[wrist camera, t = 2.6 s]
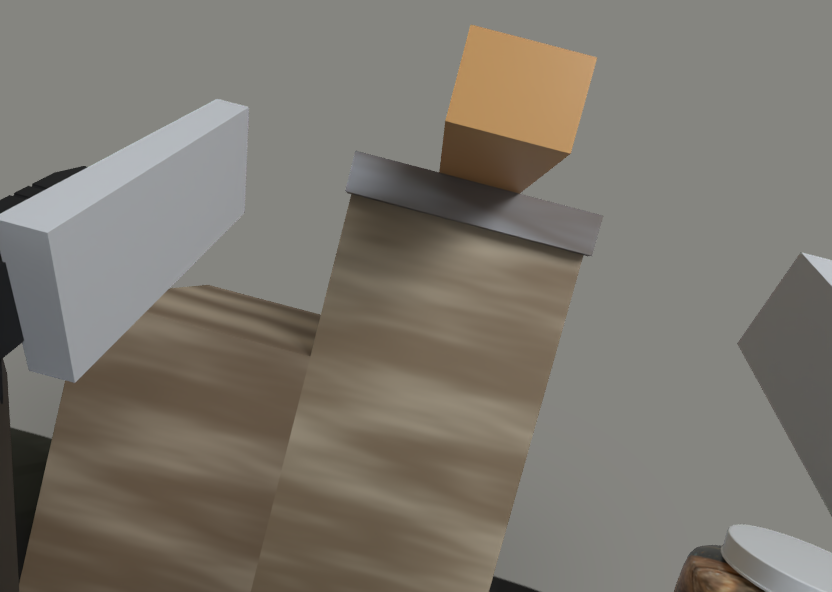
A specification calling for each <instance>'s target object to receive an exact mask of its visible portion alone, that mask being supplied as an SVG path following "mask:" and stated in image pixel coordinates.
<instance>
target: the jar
mask: <svg viewBox="0 0 832 592" xmlns="http://www.w3.org/2000/svg"><path fill="white" fill-rule="evenodd" d="M674 592H832V553H831V552H829V551H827V550H824V549H822V548H819V547H817V546H815V545H812V544H810V543H808V542H805V541H803V540H800V539H797V538H795V537H792V536H789V535H786V534H783V533H780V532H777V531H773V530H770V529H766V528H762V527H758V526H753V525H745V524H736V525H732V526H730V527H729V528H728V531H727V534H726V537H725V541H724V544H723V545H722V546H717V545H708V546H700V547H697V548H695V549H694V550H693V551H692V552H691V553H690V554H689V556H688V557H687V560H686V561H685V563H684V565H683V568H682V570H681V573H680V576H679V578H678V581H677V584H676V587H675V590H674Z"/></svg>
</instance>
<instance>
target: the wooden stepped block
mask: <svg viewBox="0 0 832 592" xmlns="http://www.w3.org/2000/svg"><path fill="white" fill-rule="evenodd" d="M345 191H346V192H347V193H349V194H351V199H350V202H349V206H348V210H347V214H346V218H345V222H344V226H343V230H342V234H341V238H340V242H339V245H338V249H337V253H336V257H335V261H334V265H333V269H332V273H331V277H330V281H329V285H328V289H327V293H326V297H325V301H324V305H323V309H322V313H321V315H320V314H316V313H312V312H308V311H304V310H301V309H297V308H293V307H289V306H285V305H282V304H278V303H274V302H271V301H266V300H263V299H259V298H255V297H251V296H247V295H244V294H240V293H237V292H233V291H229V290H225V289H221V288H218V287H214V286H210V285H202V286H192V287H181V288H170V289H168V290H167V291H166V292H165V293H164V294H163V295H162V296H161V297H160V298H159V299H158V300H157V301H156V302H155V303H154V304H153V305H152V306H151V307H150V308H149V309H148V310H147V311H146V312H145V313H144V314H143V315H142V316H141V317H140V318H139V319H138V320H137V321H136V322H135V323H134V324H133V325H132V326H131V327H130V328H129V329H128V330H127V331H126V332H125V333H124V334H123V335H122V336H121V337H120V338H119V339H118V340H117V341H116V342H115V343H114V344H113V345H112V346H111V347H110V348H109V349H108V350H107V351H106V352H105V353H104V354H103V355H102V356H101V357H100V358H99V359H98V360H97V361H96V362H95V363H94V364H93V365H92V366H91V367H90V368H89V369H88V370H87V371H86V372H85V373H84V374H83V375H82V376H81V377H80V378H79V379H78V380H77V381H76V382H75V383H73V382H70V381H66V380H65V384H64V389H63V393H62V397H61V402H60V406H59V411H58V415H57V419H56V424H55V428H54V433H53V437H52V441H51V446H50V450H49V455H48V459H47V463H46V468H45V472H44V477H43V481H42V486H41V490H40V494H39V499H38V503H37V508H36V512H35V517H34V521H33V525H32V530H31V534H30V539H29V543H28V547H27V552H26V556H25V561H24V565H23V570H22V574H21V578H20V583H19V592H489V589H490V585H491V582H492V578H493V575H494V571H495V568H496V564H497V560H498V557H499V553H500V550H501V546H502V543H503V539H504V535H505V532H506V528H507V525H508V521H509V518H510V514H511V511H512V507H513V503H514V500H515V496H516V493H517V489H518V486H519V482H520V478H521V475H522V472H523V468H524V464H525V461H526V457H527V454H528V450H529V447H530V443H531V439H532V435H533V432H534V429H535V425H536V422H537V418H538V415H539V411H540V408H541V404H542V400H543V397H544V393H545V390H546V386H547V382H548V379H549V375H550V372H551V368H552V365H553V361H554V358H555V354H556V351H557V347H558V344H559V339H560V337H561V333H562V329H563V326H564V322H565V319H566V315H567V312H568V308H569V305H570V301H571V297H572V294H573V290H574V287H575V283H576V280H577V276H578V273H579V269H580V265H581V262H582V258H583V255H586V256H592V254H593V250H594V247H595V243H596V240H597V236H598V233H599V229H600V226H601V222H602V218H603V216H602V215H599V214H595V213H591V212H587V211H584V210H580V209H576V208H572V207H568V206H565V205H561V204H557V203H553V202H549V201H545V200H542V199H538V198H534V197H530V196H526V195H522V194H519V193H515V192H511V191H507V190H504V189H500V188H496V187H492V186H488V185H484V184H481V183H477V182H473V181H469V180H465V179H462V178H458V177H454V176H450V175H446V174H443V173H439V172H435V171H431V170H427V169H424V168H419V167H416V166H412V165H408V164H404V163H401V162H397V161H393V160H389V159H385V158H382V157H378V156H374V155H370V154H366V153H363V152H358V151H355V155H354V159H353V163H352V166H351V170H350V174H349V178H348V182H347V186H346V190H345Z"/></svg>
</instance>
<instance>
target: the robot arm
mask: <svg viewBox="0 0 832 592" xmlns="http://www.w3.org/2000/svg"><path fill="white" fill-rule="evenodd" d="M248 117H249V107H246V106H243V105H239V104H235V103H231V102H227V101H224V100H220V99H216V100H214V101H212V102H210V103H208V104H206V105H204V106H202V107H201V108H199V109H197V110H195V111H193V112H191V113H189V114H187V115H186V116H184V117H182V118H180V119H178V120H176V121H174V122H172V123H170V124H169V125H167V126H165V127H163V128H161V129H159V130H158V131H155V132H153V133H152V134H150V135H148V136H146V137H144V138H142V139H140V140H138V141H136V142H135V143H133V144H131V145H129V146H127V147H125V148H123V149H122V150H119V151H118V152H116V153H114V154H112V155H110V156H108V157H106V158H104V159H103V160H101V161H99V162H97V163H95V164H93V165H91V166H89V167H86V166H82V167H78V168H73V169H69V170H65V171H60V172H56V173H53V174H51V175H49V176H47V177H46V178H43V179H41V180H39V181H37V182H35V183H33V184H32V187H30V186H27V187H25V188H23V189H21V190H19V191H17V192H15V193H14V196H10V195H9V196H8V197H5V198H3V199H1V200H0V592H19V577H18V559H17V542H16V524H15V506H14V488H13V470H12V453H11V435H10V418H9V399H8V381H7V372H6V368H5V365H4V361H3V357H5V355H7V354H8V353H10V352H11V351H12V350H13V349H14V348H16V347H17V346H18V345H19V344H21V343H22V344H23V348H24V352H25V356H26V360H27V364H28V369H29V371H33V372H36V373H40V374H44V375H47V376H51V377H55V378H58V379H62V380H66V381H70V382H73V383H75V382H76V381H77V380H78V379H79V378H80V377H81V376H82V375H83V374H84V373H85V372H86V371H87V370H88V369H89V368H90V367H91V366H92V365H93V364H94V363H95V362H96V361H97V360H98V359H99V358H100V357H101V356H102V355H103V354H104V353H105V352H106V351H107V350H108V349H109V348H110V347H111V346H112V345H113V344H114V343H115V342H116V341H117V340H118V339H119V338H120V337H121V336H122V335H123V334H124V333H125V332H126V331H127V330H128V329H129V328H130V327H131V326H132V325H133V324H134V323H135V322H136V321H137V320H138V319H139V318H140V317H141V316H142V315H143V314H144V313H145V312H146V311H147V310H148V309H149V308H150V307H151V306H152V305H153V304H154V303H155V302H156V301H157V300H158V299H159V298H160V297H161V296H162V295H163V294H164V293H165V292H166V291H167V290H168V289H169V288H170V287H171V286H172V285H173V284H174V283H175V282H176V281H177V280H178V279H179V278H180V277H181V276H182V275H183V274H184V273H185V272H186V271H187V270H188V269H189V268H190V267H191V266H192V265H193V264H194V263H195V262H196V261H197V260H198V259H199V258H200V257H201V256H202V255H203V254H204V253H205V252H206V251H207V250H208V249H209V248H210V247H211V246H212V245H213V244H214V243H215V242H216V241H217V240H218V239H219V238H220V237H221V236H222V235H223V234H224V233H225V232H226V231H227V230H228V229H229V228H230V227H231V226H232V225H233V224H234V223H235V222H236V221H237V220H238V219H239V218H240V217H241V216H242V215H243V214H244V213H245V187H246V165H247V164H246V163H247V141H248V140H247V139H248ZM737 344H738V346H739V347H740V349H741V351H742V353H743V355H744V356H745V358H746V360H747V362H748V364H749V366H750V367H751V369H752V371H753V373H754V375H755V377H756V379H757V380H758V382H759V384H760V386H761V388H762V390H763V391H764V393H765V395H766V397H767V399H768V401H769V402H770V404H771V406H772V408H773V410H774V412H775V413H776V415H777V417H778V419H779V420H780V422H781V424H782V426H783V428H784V430H785V432H786V433H787V435H788V437H789V439H790V441H791V443H792V444H793V446H794V448H795V450H796V452H797V454H798V455H799V457H800V459H801V461H802V463H803V465H804V466H805V468H806V470H807V472H808V474H809V475H810V477H811V479H812V481H813V483H814V485H815V487H816V488H817V490H818V492H819V494H820V496H821V497H822V499H823V501H824V503H825V505H826V506H827V508H828V510H829V512H830V514H831V516H832V260H829V259H825V258H821V257H817V256H813V255H810V254H806V253H802V252H801V253H800V254H799V256H798V257H797V259H796V260H795V261H794V263H793V264H792V266H791V267H790V269H789V270H788V272H787V273H786V274H785V276H784V277H783V279H782V280H781V282H780V283H779V284H778V286H777V287H776V289H775V290H774V292H773V293H772V294H771V296H770V297H769V299H768V300H767V302H766V303H765V305H764V306H763V307H762V309H761V310H760V312H759V313H758V315H757V316H756V317H755V319H754V320H753V322H752V323H751V325H750V326H749V328H748V329H747V330H746V332H745V333H744V335H743V336H742V338H741V339H740V340H739V342H738V343H737Z"/></svg>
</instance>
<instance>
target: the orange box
mask: <svg viewBox="0 0 832 592" xmlns="http://www.w3.org/2000/svg"><path fill="white" fill-rule="evenodd" d="M596 60H597V57H593V56H590V55H586V54H582V53H578V52H574V51H570V50H567V49H563V48H559V47H555V46H551V45H547V44H543V43H539V42H536V41H532V40H528V39H524V38H521V37H517V36H513V35H509V34H505V33H501V32H497V31H493V30H490V29H486V28H482V27H478V26H474V25H470V29H469V33H468V37H467V40H466V44H465V48H464V52H463V56H462V59H461V63H460V67H459V71H458V75H457V79H456V82H455V87H454V90H453V94H452V98H451V101H450V106H449V109H448V113H447V117H446V121H445V130H444V137H443V146H442V154H441V163H440V172H439V173H443V174H446V175H450V176H454V177H458V178H462V179H465V180H469V181H473V182H477V183H481V184H484V185H488V186H492V187H496V188H500V189H504V190H507V191H511V192H515V193H519V194H520V193H521V192H522V191H523V190H525V189H526V188H527V187H528V186H530V185H531V184H532V183H533V182H535V181H536V180H537V179H539V178H540V177H541V176H543V175H544V174H545V173H546V172H548V171H549V170H550V169H551V168H553V167H554V166H555V165H557V164H558V163H559V162H561V161H562V160H563V159H564V158H566V157H567V156H568V155H570V154H571V150H572V147H573V143H574V139H575V136H576V132H577V129H578V125H579V122H580V118H581V114H582V111H583V107H584V103H585V100H586V96H587V93H588V89H589V85H590V82H591V78H592V75H593V71H594V67H595V64H596Z"/></svg>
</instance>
